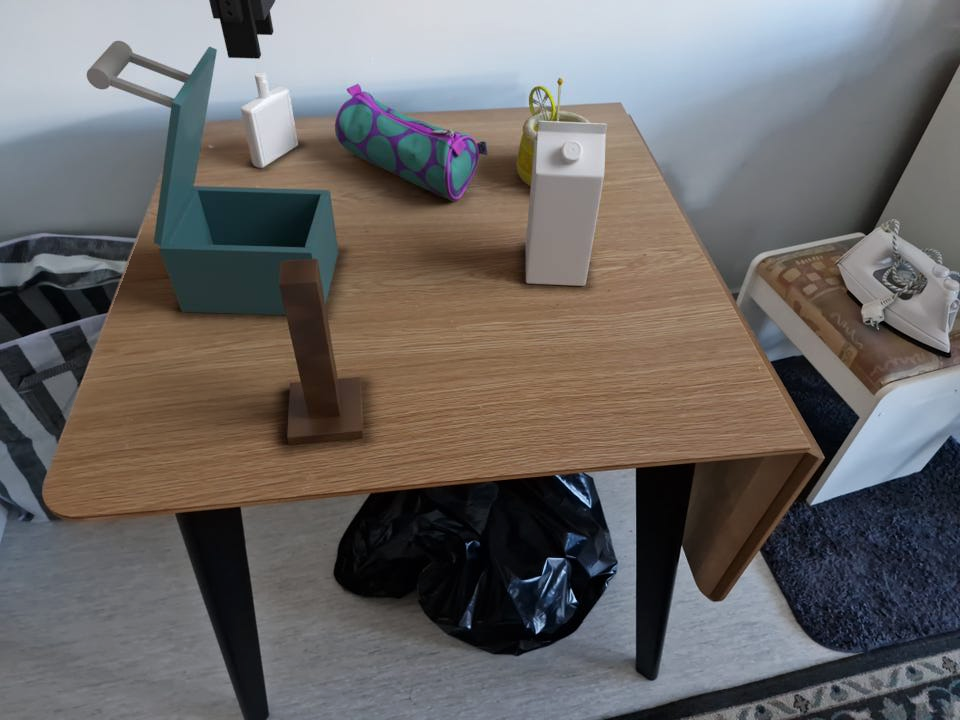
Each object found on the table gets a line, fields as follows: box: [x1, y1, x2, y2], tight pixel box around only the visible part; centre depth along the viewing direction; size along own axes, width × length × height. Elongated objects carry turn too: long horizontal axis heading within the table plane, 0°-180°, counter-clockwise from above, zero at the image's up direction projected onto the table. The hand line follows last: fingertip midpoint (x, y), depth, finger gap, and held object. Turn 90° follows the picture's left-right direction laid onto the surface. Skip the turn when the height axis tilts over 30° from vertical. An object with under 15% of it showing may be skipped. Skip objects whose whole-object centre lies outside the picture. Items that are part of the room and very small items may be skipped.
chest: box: [158, 185, 340, 316], centre depth 82 cm, size 16×12×9 cm
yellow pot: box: [516, 77, 591, 187], centre depth 99 cm, size 13×11×12 cm
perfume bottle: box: [240, 71, 299, 169], centre depth 101 cm, size 8×2×12 cm, turn 149°
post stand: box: [279, 259, 364, 446], centre depth 65 cm, size 7×7×18 cm
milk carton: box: [525, 121, 608, 287], centre depth 82 cm, size 7×7×19 cm
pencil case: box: [334, 83, 488, 202], centre depth 99 cm, size 21×9×10 cm, turn 54°
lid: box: [86, 40, 218, 246], centre depth 72 cm, size 17×12×9 cm
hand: (251, 43), depth 65 cm, fingers closed on block, 4 cm apart
